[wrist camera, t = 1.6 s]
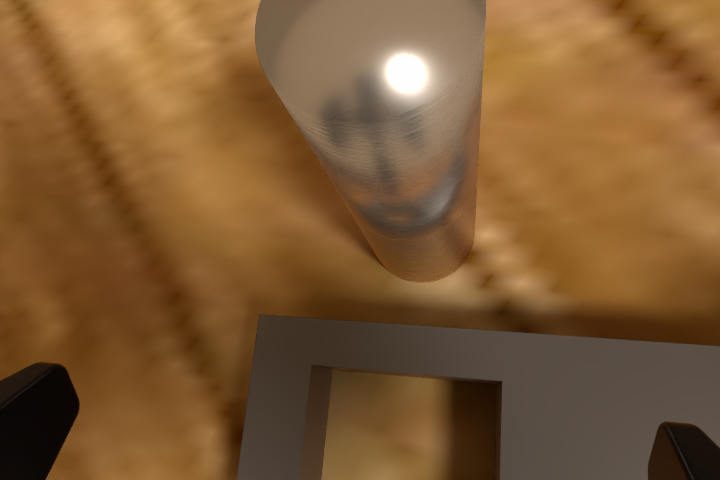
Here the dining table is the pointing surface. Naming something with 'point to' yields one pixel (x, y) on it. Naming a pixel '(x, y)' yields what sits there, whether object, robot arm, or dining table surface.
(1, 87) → the dining table surface
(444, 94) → the cylinder
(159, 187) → the dining table surface
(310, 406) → the twin nest fixture
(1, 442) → the robot arm
